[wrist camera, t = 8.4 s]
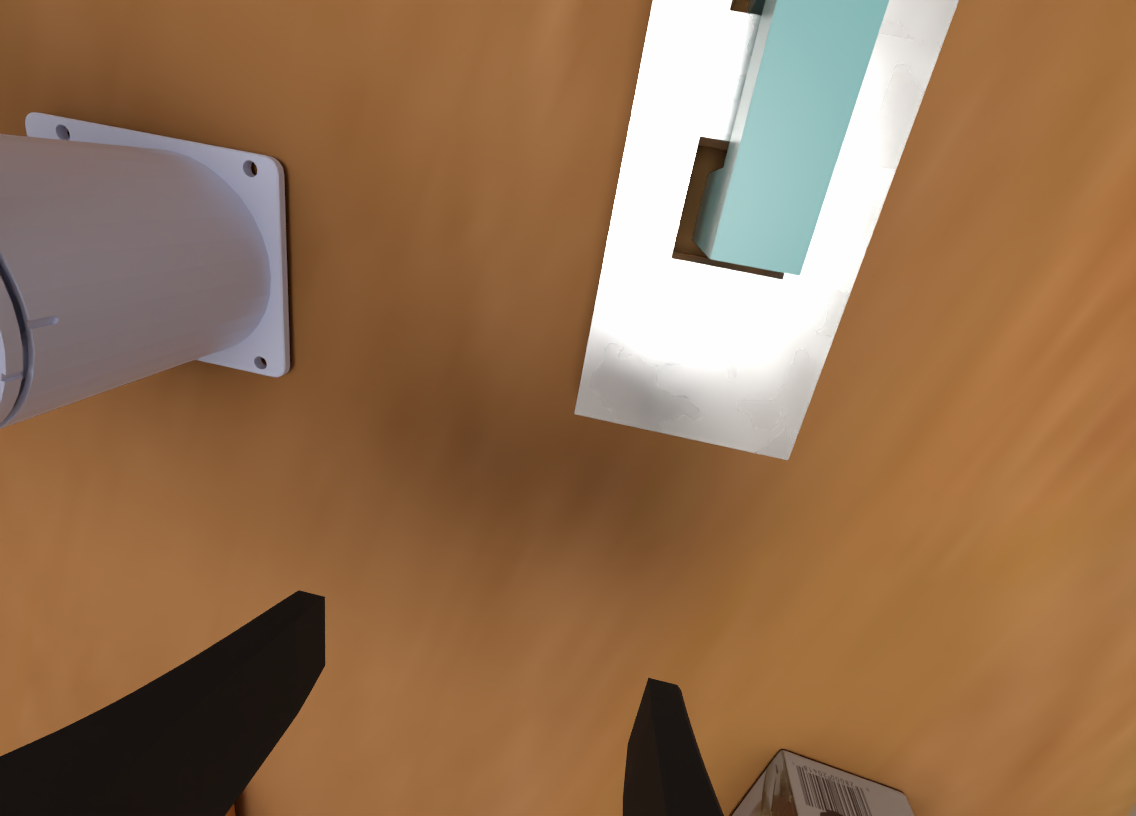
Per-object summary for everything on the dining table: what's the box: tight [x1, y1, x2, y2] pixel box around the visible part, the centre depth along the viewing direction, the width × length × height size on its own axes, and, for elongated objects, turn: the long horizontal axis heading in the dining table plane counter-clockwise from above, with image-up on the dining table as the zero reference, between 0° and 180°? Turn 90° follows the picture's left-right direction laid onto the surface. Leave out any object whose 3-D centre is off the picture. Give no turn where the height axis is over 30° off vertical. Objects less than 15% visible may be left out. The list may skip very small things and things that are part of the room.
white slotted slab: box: [574, 0, 959, 460], centre depth 15 cm, size 7×20×2 cm, turn 171°
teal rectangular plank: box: [692, 0, 889, 276], centre depth 13 cm, size 2×8×6 cm, turn 171°
